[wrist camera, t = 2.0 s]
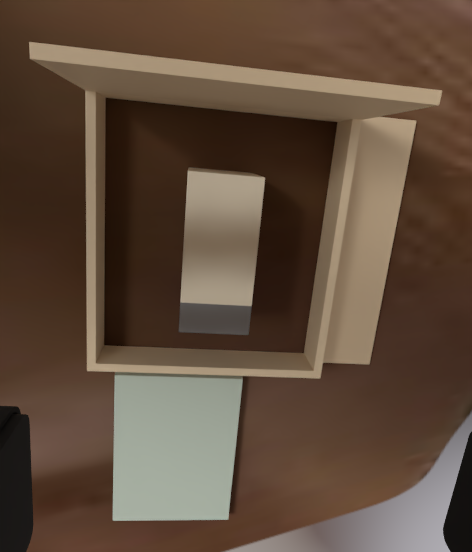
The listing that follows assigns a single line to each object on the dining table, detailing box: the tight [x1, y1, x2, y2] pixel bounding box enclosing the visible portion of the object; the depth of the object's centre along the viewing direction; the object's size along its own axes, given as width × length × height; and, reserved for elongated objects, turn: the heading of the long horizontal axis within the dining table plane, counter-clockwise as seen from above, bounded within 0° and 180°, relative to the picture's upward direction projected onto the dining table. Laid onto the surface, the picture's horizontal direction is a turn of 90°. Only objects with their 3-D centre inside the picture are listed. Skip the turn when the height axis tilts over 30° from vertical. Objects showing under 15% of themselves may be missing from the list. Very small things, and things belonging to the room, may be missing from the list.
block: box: [179, 167, 265, 335], centre depth 29 cm, size 10×4×6 cm, turn 175°
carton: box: [29, 42, 442, 378], centre depth 26 cm, size 19×22×12 cm
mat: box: [113, 372, 243, 521], centre depth 36 cm, size 14×10×1 cm
